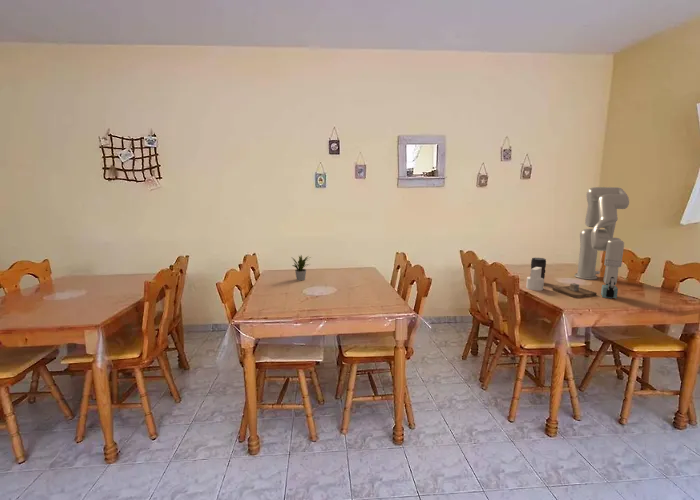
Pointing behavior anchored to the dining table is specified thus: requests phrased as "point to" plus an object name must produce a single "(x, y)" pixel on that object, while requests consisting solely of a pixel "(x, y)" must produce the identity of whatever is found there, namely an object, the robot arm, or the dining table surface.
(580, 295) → the shaft block
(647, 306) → the dining table surface
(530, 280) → the light grey stepped block
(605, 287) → the teal tissue box
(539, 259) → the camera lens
